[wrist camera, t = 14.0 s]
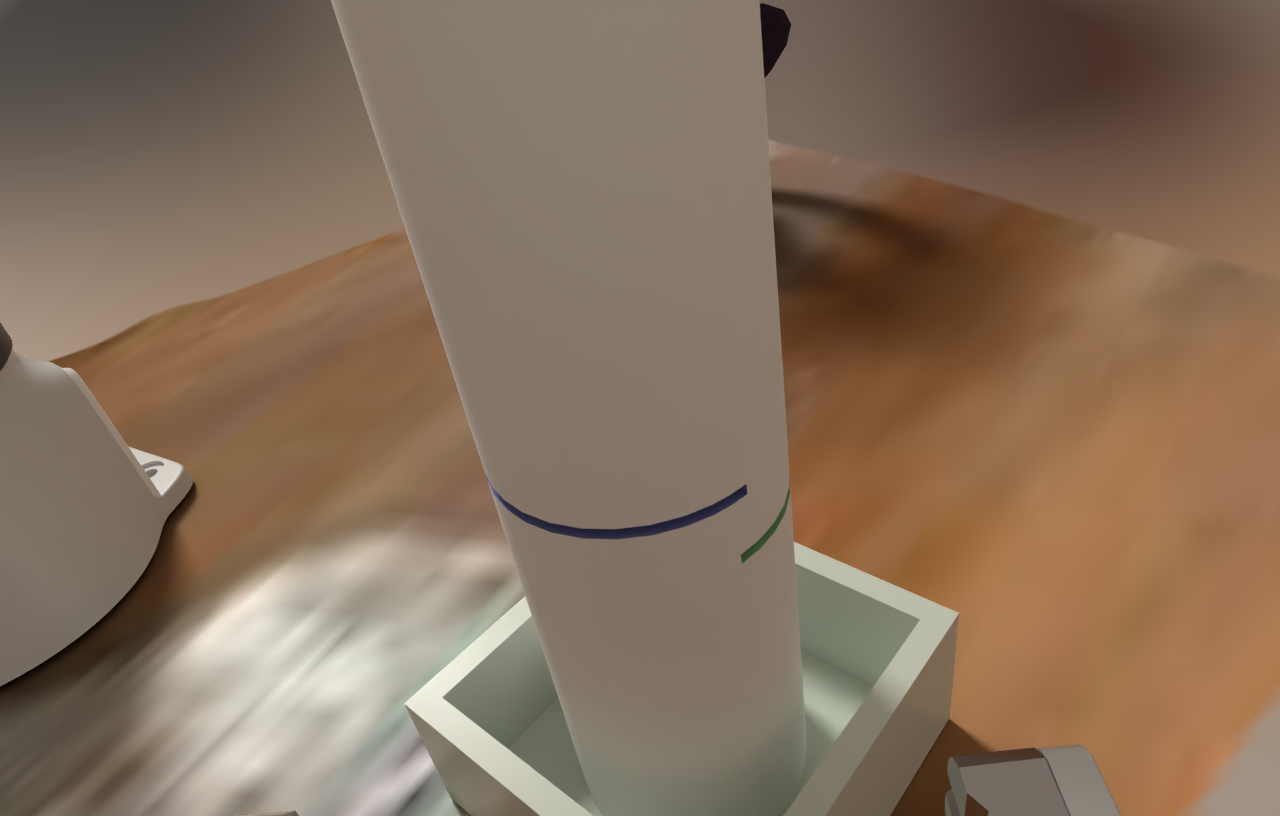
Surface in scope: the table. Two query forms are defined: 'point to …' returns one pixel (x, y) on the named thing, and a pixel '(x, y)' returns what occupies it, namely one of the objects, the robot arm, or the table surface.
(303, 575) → the table surface
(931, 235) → the table surface
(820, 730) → the box
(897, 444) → the table surface
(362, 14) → the cylindrical container
